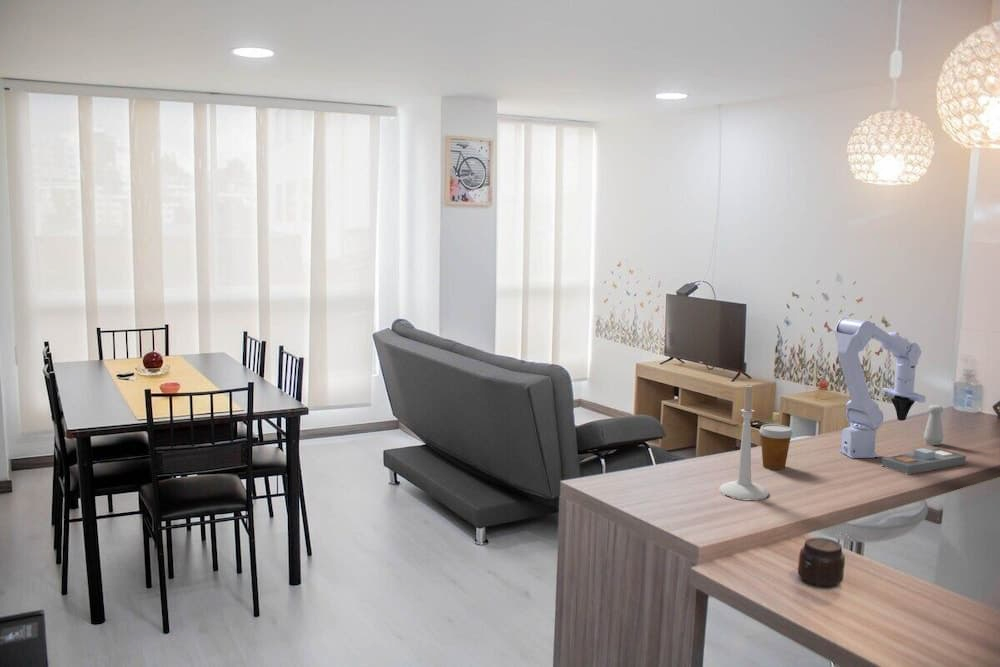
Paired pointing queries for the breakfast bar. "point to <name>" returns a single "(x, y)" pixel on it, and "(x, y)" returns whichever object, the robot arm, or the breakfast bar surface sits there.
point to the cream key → (943, 453)
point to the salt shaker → (934, 426)
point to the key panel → (923, 462)
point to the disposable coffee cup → (775, 445)
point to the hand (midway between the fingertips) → (901, 420)
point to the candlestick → (745, 460)
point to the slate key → (924, 454)
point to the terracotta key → (905, 459)
